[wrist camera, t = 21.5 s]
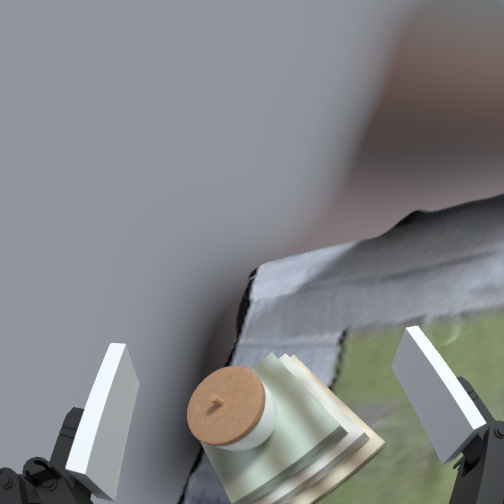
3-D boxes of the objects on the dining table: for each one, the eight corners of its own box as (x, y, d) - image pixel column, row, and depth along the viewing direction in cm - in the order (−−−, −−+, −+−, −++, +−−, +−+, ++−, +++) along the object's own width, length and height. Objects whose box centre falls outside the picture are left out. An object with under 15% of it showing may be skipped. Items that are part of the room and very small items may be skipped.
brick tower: (297, 358, 53) (273, 330, 48) (386, 443, 32) (374, 428, 27) (207, 430, 49) (174, 411, 45) (265, 532, 29) (227, 532, 24)
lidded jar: (211, 421, 40) (168, 395, 35) (265, 377, 41) (229, 344, 37) (242, 474, 30) (194, 457, 26) (306, 424, 32) (271, 397, 28)
